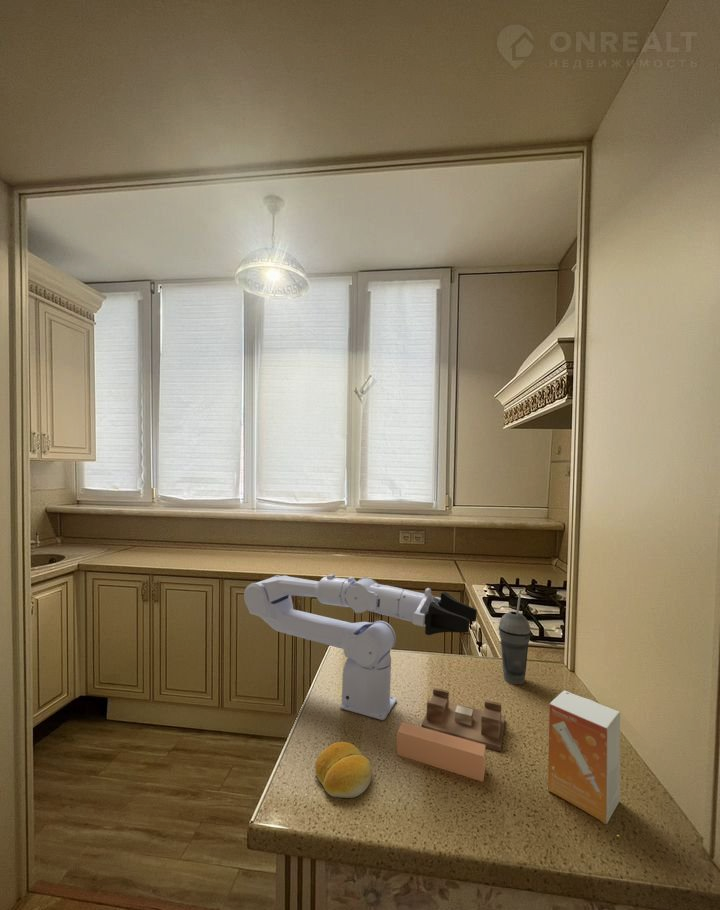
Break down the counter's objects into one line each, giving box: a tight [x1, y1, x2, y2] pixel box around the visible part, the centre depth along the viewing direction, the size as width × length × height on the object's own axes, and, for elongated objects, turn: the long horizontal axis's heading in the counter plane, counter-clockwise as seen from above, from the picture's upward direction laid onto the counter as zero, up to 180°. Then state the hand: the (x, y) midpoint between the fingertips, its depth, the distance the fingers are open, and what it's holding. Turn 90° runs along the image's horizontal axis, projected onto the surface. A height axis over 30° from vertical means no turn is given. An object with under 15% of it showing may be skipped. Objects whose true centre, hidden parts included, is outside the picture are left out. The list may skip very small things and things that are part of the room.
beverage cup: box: [497, 593, 532, 685], centre depth 95 cm, size 7×7×20 cm
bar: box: [396, 721, 487, 783], centre depth 66 cm, size 14×3×4 cm, turn 67°
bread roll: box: [314, 741, 372, 799], centre depth 62 cm, size 8×9×4 cm
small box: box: [547, 690, 621, 825], centre depth 60 cm, size 8×6×13 cm
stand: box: [420, 687, 506, 752], centre depth 77 cm, size 14×10×4 cm
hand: (472, 620), depth 74 cm, fingers open, 7 cm apart
